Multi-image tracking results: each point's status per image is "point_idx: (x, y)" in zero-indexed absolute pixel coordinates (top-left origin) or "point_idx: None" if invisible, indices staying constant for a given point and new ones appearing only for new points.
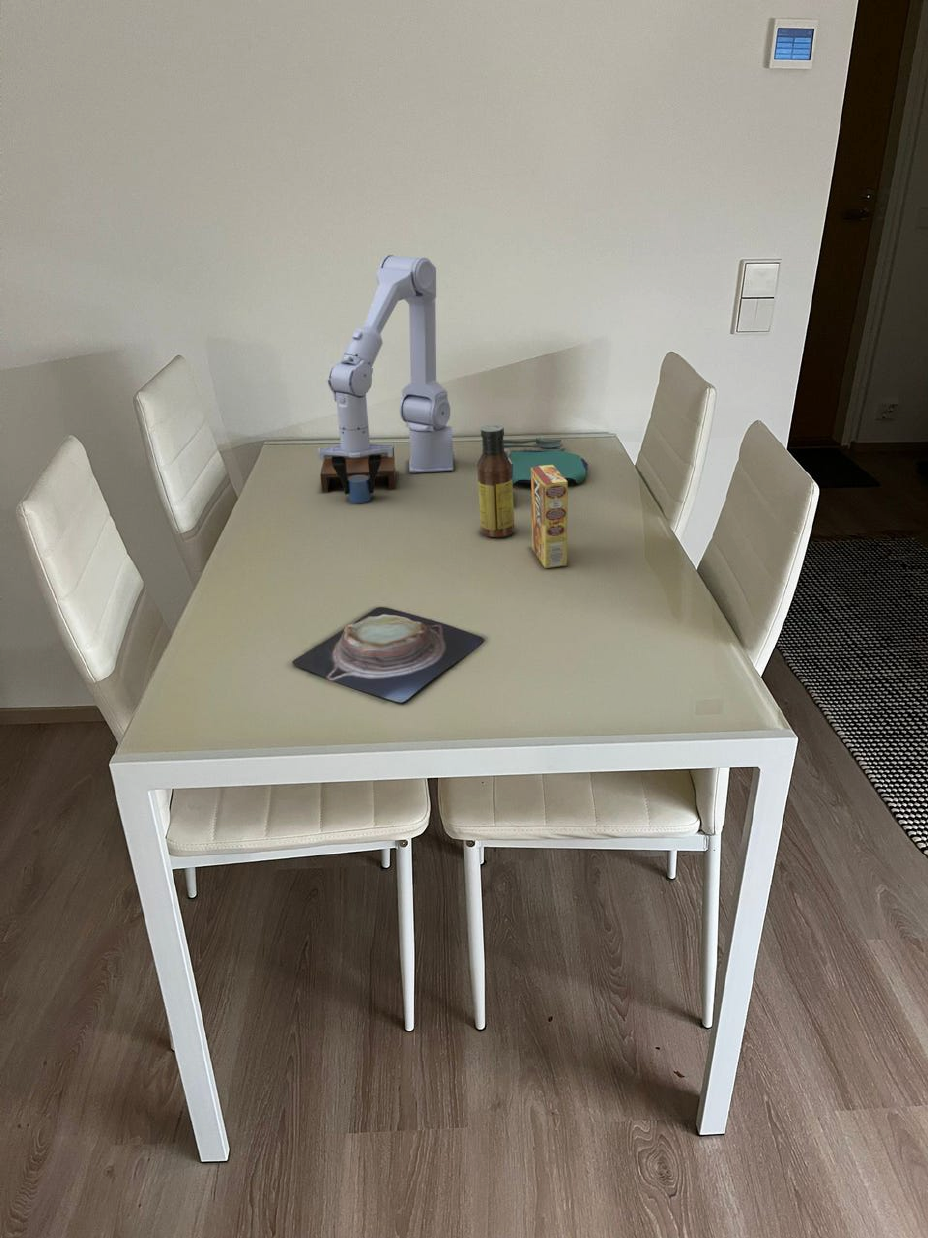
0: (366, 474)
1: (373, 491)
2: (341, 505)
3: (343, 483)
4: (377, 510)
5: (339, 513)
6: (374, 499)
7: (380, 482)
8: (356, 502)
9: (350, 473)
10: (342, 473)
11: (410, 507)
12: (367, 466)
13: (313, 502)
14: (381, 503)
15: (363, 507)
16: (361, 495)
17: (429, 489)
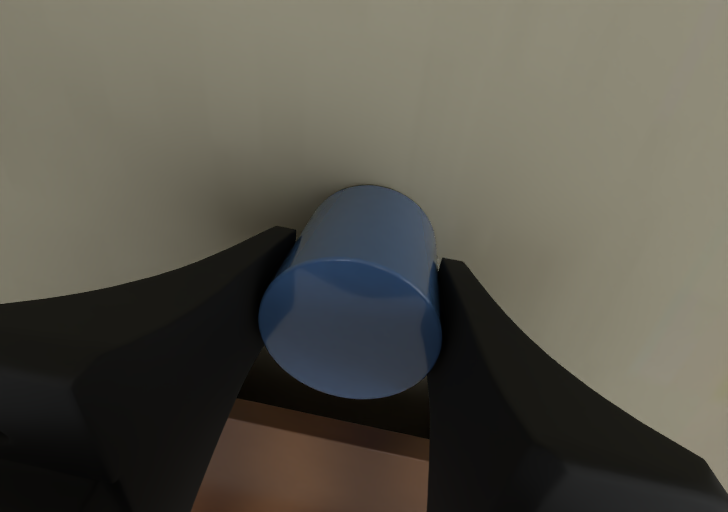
0: (296, 416)
1: (268, 229)
2: (502, 190)
3: (488, 302)
4: (267, 8)
5: (568, 25)
6: (289, 223)
7: (263, 398)
8: (400, 194)
9: (390, 447)
10: (518, 365)
11: (39, 4)
12: (284, 483)
13: (654, 290)
14: (245, 146)
15: (364, 107)
16: (357, 204)
17: (25, 263)
